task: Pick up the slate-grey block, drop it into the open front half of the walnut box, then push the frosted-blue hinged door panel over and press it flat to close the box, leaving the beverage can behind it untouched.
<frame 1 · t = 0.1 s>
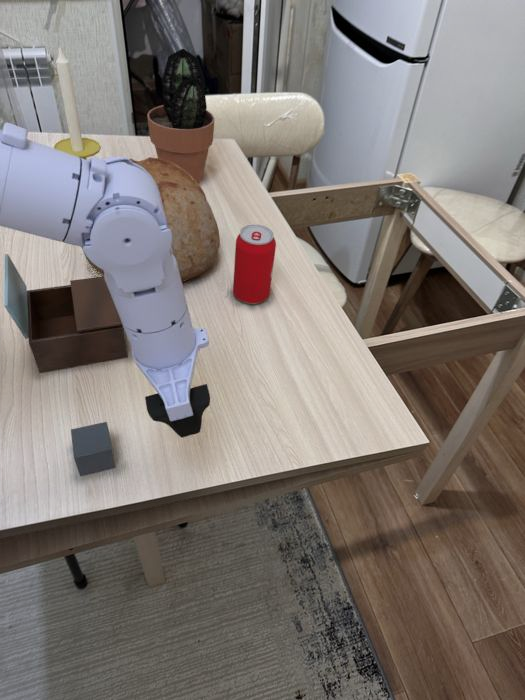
hand: (183, 402, 51), 11 cm above the table, tool pointing down, fingers open, 7 cm apart
beverage can: (250, 295, 82), on the table
bread: (151, 249, 89), on the table
potted plant: (182, 177, 109), on the table
block: (96, 458, 58), on the table
candle: (86, 195, 100), on the table
box: (81, 338, 71), on the table
door: (16, 295, 63), point 9 cm above the table, hinge at 100.0°
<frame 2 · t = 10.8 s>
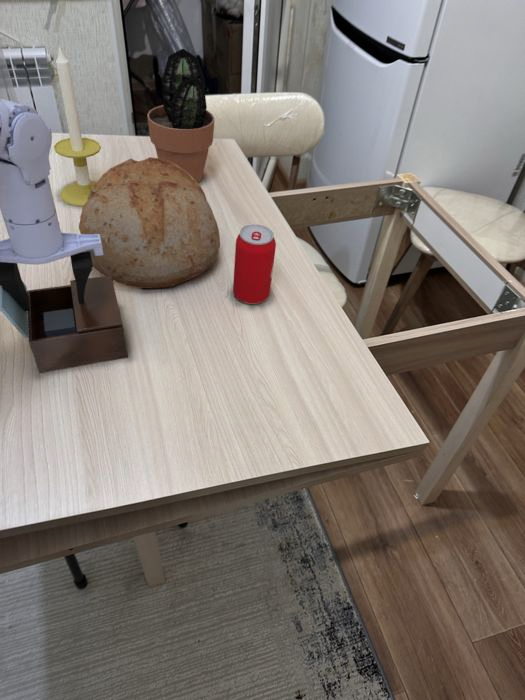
hand: (54, 302, 65), 7 cm above the table, tool pointing down, fingers open, 6 cm apart
block: (64, 339, 70), resting on box
door: (13, 296, 62), point 9 cm above the table, hinge at 106.7°, touching gripper
everything else where it was.
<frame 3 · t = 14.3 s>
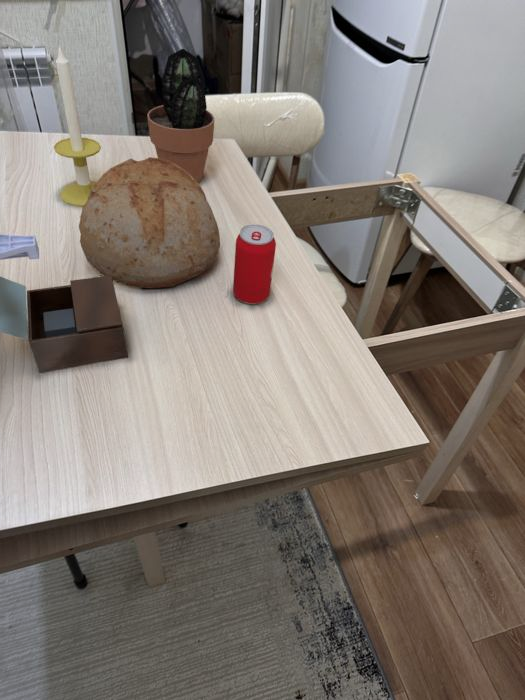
door: (3, 303, 63), point 8 cm above the table, hinge at 141.4°, touching gripper
everything else where it was.
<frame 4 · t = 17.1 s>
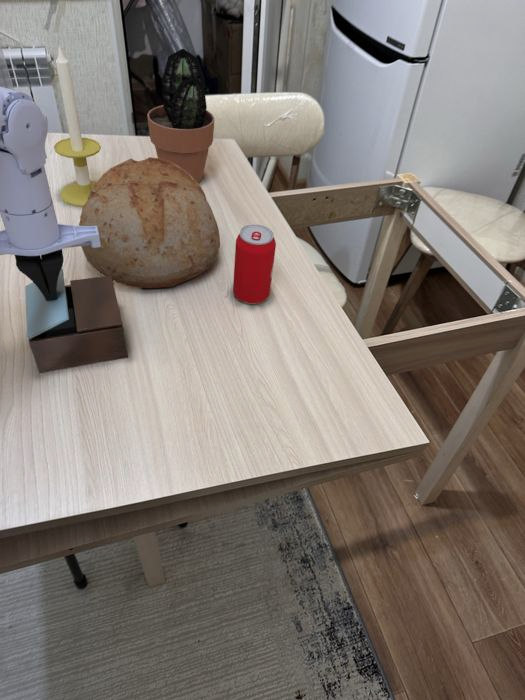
hand: (51, 295, 64), 9 cm above the table, tool pointing down, fingers closed
door: (45, 301, 65), point 8 cm above the table, hinge at 24.3°
everything else where it was.
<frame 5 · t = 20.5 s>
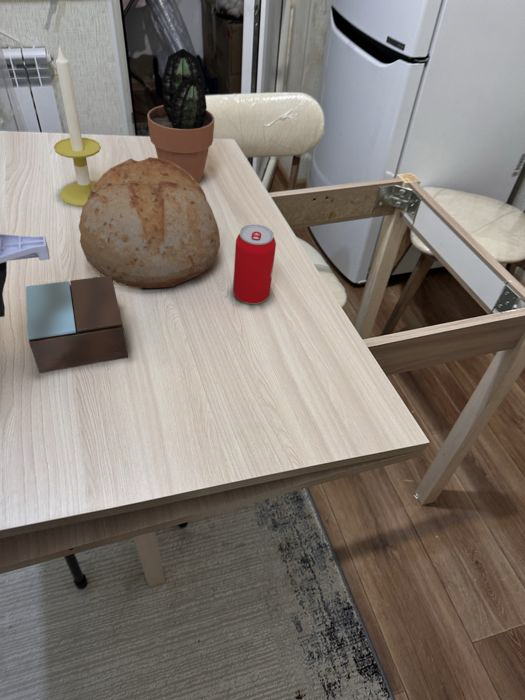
door: (50, 308, 66), point 6 cm above the table, hinge at -0.5°
everything else where it was.
at the end: block inside the target area in the box (2.2 cm from its centre), point 0.4 cm above the box's base; door at +0° (first picture: +100°); beverage can moved 0.2 cm from its start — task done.
